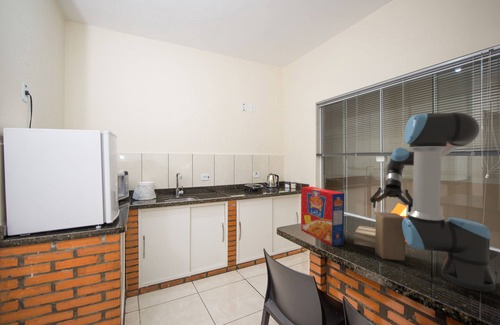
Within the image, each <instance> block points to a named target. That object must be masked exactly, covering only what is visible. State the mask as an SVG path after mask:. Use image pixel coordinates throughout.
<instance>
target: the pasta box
mask: <svg viewBox="0 0 500 325" xmlns="http://www.w3.org/2000/svg"><path fill="white" fill-rule="evenodd" d="M300 214H301V215H300V218H301V219H300V220H301V221H300V224H301V226H300V230H301V232H304V233H305V234H307V235H309V236H311V237H313V238H316V239H317V240H319V241H321V242H323V243H324V244H327V245H329V246H330V247H335V246H343V245H344V236H345V235H344V233H345V232H344V230H345V228H344V227H345V192H340V191H337V190H335V191H334V190H332V189H331V190H330V189H325V188H319V187H316V186H302V187H301V211H300Z"/></svg>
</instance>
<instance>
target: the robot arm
mask: <svg viewBox="0 0 500 325" xmlns="http://www.w3.org/2000/svg"><path fill="white" fill-rule="evenodd" d="M479 134H480V125H479V122H478V121H477V120H476V118H474V117H473V116H472V115H470V114H468V113H464V112H459V111H457V112H437V113H436V112H433V113H429V112H428V113H419V114H414V115H412V116H411V117H410V118H409V119H408V121H407V123H406V125H405V128H404V134H403V139H404V142H405V143H406V144H407V145H409V149H410V150H411V151H409V149H407V148H404V147H397V148H395V149H393V151H392V154H391V156H390V159H389V161H388V163H387V166H386V176H385V187H384V188H382V187H378V189H377V191H376V192H375V193H374V194H373V195H372V196H371V197H370V199H369V200H370V203H373V204H372V208H373V209H374V214H375V215H376V213H377V212H378V209H379V208H378V205H379V203H380V202H381V201H383V200H384V199H386V198H397V199H398V200H400V201H401V202H402V203H403V205H405V206H406V218H404V219H403V222H402V229H403V234H404V237H405V240H406V242H405V243H407V244H408V246H409V247H411V248H413V249H417V250H422V251H425V250H426V251H433V252H442V253H446V257H445V260H444V262H443V264H442V266H441V268H440V269H441V270H440V275H441V277H442V278H443V279H445V280H446V281H447V282H449V283H452V284H454V285H456V286H458V287H461V288H465V289H466V290H467V289H468V290H471V291H475V292H484V293H491V291H492V292H494V291H496V281H495V277H494V275H493V273H492V270H491V268H490V253H491V252H490V250H491V248H490V247H491V241H492V238H491V231H490V229H489V227H488V226H487V225H484V224H482V223H480V222H476V221H473V220H469V219H466V218H465V219H464V218H460V217H454V216H453V217H448V218H447V221H445V217H444V216H443V215H442V214H441V212H440V211H441V210H440V209H441V208H440V207H441V175H442V174H441V172H442V169H441V168H442V167H441V166H442V158H443V157H445V156H446V155H448V154H450V153H452V152H453V151H455V150H456V149H458V148H461V147H465V146H468V145H469V144H471V143H472V142H473V141H474V140H476V138H477V137H478V135H479ZM405 166H411V167H412V166H413V174H412V175H413V178H412V180H413V181H412V186H413V187H412V196H411V195H410V193H409V189H405V190H402V180H403V179H402V178H403V170H404V168H405ZM381 193H382V194H381ZM402 194H403V195H405V196H403V195H402ZM405 197H406V198H405ZM408 212H409V213H408Z"/></svg>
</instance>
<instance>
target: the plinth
mask: <svg viewBox="0 0 500 325" xmlns="http://www.w3.org/2000/svg"><path fill="white" fill-rule="evenodd" d="M375 231H376V227H370V226H364V225H359V226H358V227H357V228H356V229H355V231H354V233H353V245H360V246H365V247H370V248H374V249H375Z"/></svg>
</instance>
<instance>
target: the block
mask: <svg viewBox="0 0 500 325" xmlns="http://www.w3.org/2000/svg"><path fill="white" fill-rule="evenodd" d="M403 219H404V217H402V216H400V215H399V214H397V213H391V212H384V211H383V212H381V211H377V213H376V214H375V228H376V231H375V248H374V251H375V252H376V253H377V255H378V256H379V257H380V258H381V259H383V260H389V261H390V260H392V261H402V262H403V261H405V260H406V242H405V237H404V234H403V229H402V222H403Z"/></svg>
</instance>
